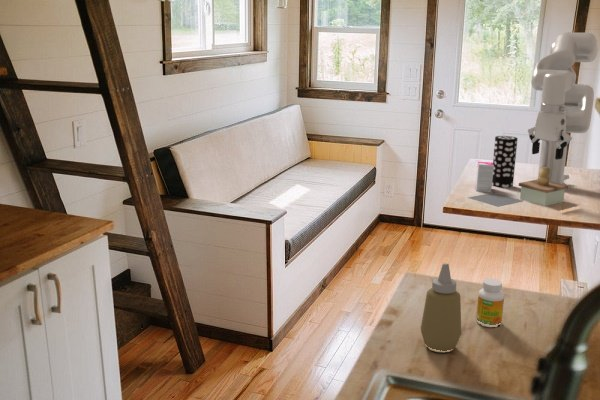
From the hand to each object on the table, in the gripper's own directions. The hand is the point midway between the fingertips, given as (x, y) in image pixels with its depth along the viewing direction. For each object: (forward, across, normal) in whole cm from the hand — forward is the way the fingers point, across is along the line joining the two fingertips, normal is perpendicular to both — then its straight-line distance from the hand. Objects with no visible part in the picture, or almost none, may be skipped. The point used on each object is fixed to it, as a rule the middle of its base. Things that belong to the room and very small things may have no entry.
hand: (546, 156), depth 231 cm
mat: (+17, +9, +14) cm, 24 cm away
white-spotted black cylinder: (+18, +22, -5) cm, 29 cm away
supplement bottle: (+13, -56, +93) cm, 109 cm away
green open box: (+17, -1, +1) cm, 17 cm away
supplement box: (+18, +21, +7) cm, 29 cm away
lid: (+11, -1, +1) cm, 11 cm away
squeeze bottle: (+13, -58, +110) cm, 125 cm away
